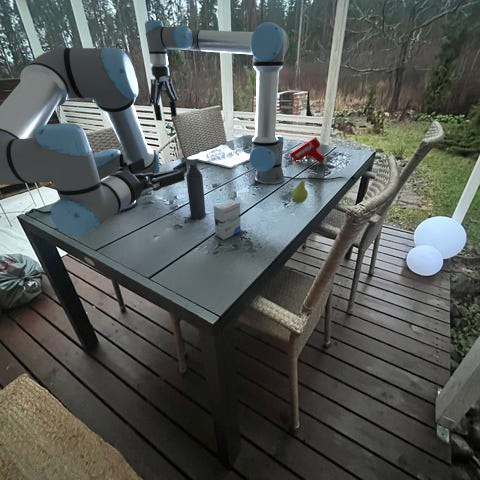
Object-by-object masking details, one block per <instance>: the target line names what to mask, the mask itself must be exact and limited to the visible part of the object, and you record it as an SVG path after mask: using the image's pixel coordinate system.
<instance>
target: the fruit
mask: <svg viewBox="0 0 480 480" xmlns="http://www.w3.org/2000/svg"><path fill="white" fill-rule="evenodd" d="M309 177H311V175H310V174H309V175H308V176H306V177H305V178H306V179H301V181H300V182H298V184H297V185H296V186H295V187H294V188H293V190H292V191H291V198H292V200H293V201H294V202H295V203H297V204H301V203H304V202H305V201H306V200H307V198H308V196H309V195H308V190H307V189H306V184H305V183H306V180H308V179H307V178H309Z"/></svg>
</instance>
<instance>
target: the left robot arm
mask: <svg viewBox="0 0 480 480" xmlns="http://www.w3.org/2000/svg"><path fill="white" fill-rule="evenodd" d="M19 79H20V80H19V81H20V82H19V83H18V84H17V85H16V87H15V88H14V89H13V90H12V92H11V93H10V94H9V95H8V96H7V97H6V98H5V100H4V101H3V102H2V103H1V104H0V186H8V185H9V186H10V185H20V184H36V183H53V185H54V187H55V189H56V192H57V195H58V198H59V199H57V200H56V201H55V202H54V203H52V204H51V206H50V209H49V210H46V211H43V210H40V209H37V208H31V209H30V210H29V213H33V212H34V210H35V212H37V213H39V214H44V215H46V214H47V215H48V214H49V216H50V220H51V221H52V223H53V225H54V226H55V227H56V228H57V229H58V230H60V231H61V232H62V233H64V234H65V235H67V236H71V237H75V238H80V237H83V236H85V235H86V234H88V233H90V232H92V231H93V230H96V229H97V228H99V227H100V226H101V225H102V224H104V223H105V222H106V221H107V220H109V219H110V218H112V217H113V216H115V215H117V214H118V213H123V212H126V211H128V210H132V209H133V208H134V207H135V206H136V205H137V200H138V199H139V198H140V197H141V195H142V193H143V191H145V190H147V189H150V188H152V191H153V192H157V191H159V190H161V189H164V188H166V187H169V186H172V185H175V184H179V183H182V182H184V181H186V176H185V173H187V171H188V168H187V161H182V162H180V163H179V164H177V165H176V166H174V167H173V168H172V169H171V170H165V171H161V169H160V168H161V167H160V154H159V152H158V151H154V150H153V149H152V148H151V146H150V145H148V144H147V141H146V138H145V135H144V133H143V130H142V126H141V124H140V121H139V118H138V115H137V111H136V109H135V106H134V104H135V103H136V99H137V97H138V95H139V83H138V79H137V76H136V72H135V68H134V66H133V64H132V61H131V59H130V58H129V56H128V54H127V53H126V52H125V51H124V50H122V49H121V48H116V47H109V46H103V47H99V48H98V47H58V48H57V47H56V48H53V49H49V50H48V51H46V52H43V53H42V54H40V55H38V56H36V57H35V58H33V59H32V60H31V61H29V63H28V64H26V65H25V67H24V68H23V69H22V70H21V72H20V75H19ZM70 100H93V101H94V103H95V105H96V106H97V108H98V109H100V110H101V111H103V112H105V114H106V116H107V118H108V121H109V123H110V124H111V127H112V129H113V131H114V134H115V135H116V137H117V139H118V141H119V144H120V146H121V148H122V150H123V153H121V151H120V149H117V148H113V149H105V150H101V151H99V152H96V153H94V154H93V149H92V147H91V145H90V142H89V139H88V137H87V134H86V131H85V130H84V127H82V126H81V125H79V124H77V123H72V122H70V123H69V122H62V123H61V122H60V123H50V124H48V122H49V121H50V119H51V117H52V115H53V114H54V112H55V110H56V108H57V107H60V106H62V105H64V104H65V103H66V101H70ZM31 211H32V212H31Z"/></svg>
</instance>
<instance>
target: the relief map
mask: <svg viewBox="0 0 480 480" xmlns="http://www.w3.org/2000/svg"><path fill="white" fill-rule="evenodd" d="M191 156H196V157H198V162H202V163H207V164H211V165H215V166H219V167H223V168H228V169H233V168H235V167H237V166H239V165H242V164H245V163H247V162H250V161H249V156H250V153H247V152H245V151H244V150H243V149H242V148H241V147H239V148H237V149H232V148H230V147H229V146H228V145H227V144H222V143H221V144H220V145H218V146H216V147H214V148H212V149H208V150H205V151H199V152H198V153H197V154H192V155H190V156H189V157H191Z"/></svg>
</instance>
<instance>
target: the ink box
mask: <svg viewBox="0 0 480 480" xmlns="http://www.w3.org/2000/svg"><path fill="white" fill-rule="evenodd" d="M213 214H214V215H213V217H214V218H213V219H214V233H215V236H217V237H218V238H220V239H222V240H226V239H228V238H230V237H232V236H234V235H236V234H238V233H240V232H241V229H242V228H241V202H239V201H237V200H235V199H233V198H230V199H227V200H226V201H223V202H219V203H218V204H215V205H213Z"/></svg>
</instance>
